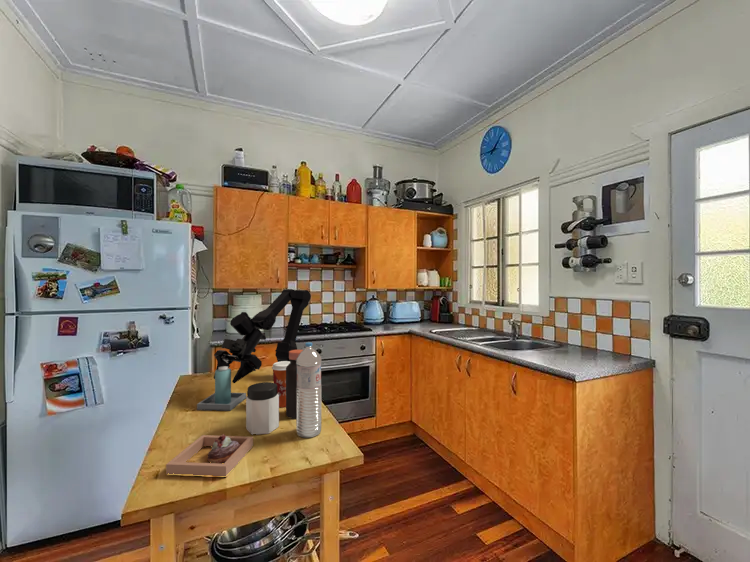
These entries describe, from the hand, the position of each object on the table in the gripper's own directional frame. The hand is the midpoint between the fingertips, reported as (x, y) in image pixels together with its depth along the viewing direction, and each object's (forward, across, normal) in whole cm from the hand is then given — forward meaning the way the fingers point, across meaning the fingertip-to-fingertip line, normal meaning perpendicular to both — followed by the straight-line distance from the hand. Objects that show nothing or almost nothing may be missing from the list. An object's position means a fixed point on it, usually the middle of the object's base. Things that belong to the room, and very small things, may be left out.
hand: (223, 380), depth 113 cm
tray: (+6, 0, +5) cm, 8 cm away
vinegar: (+3, +28, +9) cm, 30 cm away
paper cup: (0, +19, +12) cm, 22 cm away
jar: (+11, +26, 0) cm, 28 cm away
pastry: (+22, +29, -11) cm, 38 cm away
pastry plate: (+24, +28, -13) cm, 39 cm away
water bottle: (+9, +40, +3) cm, 41 cm away
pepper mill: (+6, 0, +5) cm, 7 cm away
